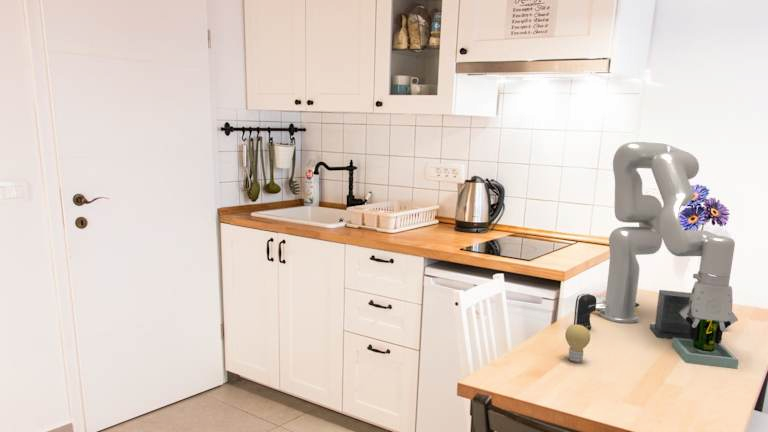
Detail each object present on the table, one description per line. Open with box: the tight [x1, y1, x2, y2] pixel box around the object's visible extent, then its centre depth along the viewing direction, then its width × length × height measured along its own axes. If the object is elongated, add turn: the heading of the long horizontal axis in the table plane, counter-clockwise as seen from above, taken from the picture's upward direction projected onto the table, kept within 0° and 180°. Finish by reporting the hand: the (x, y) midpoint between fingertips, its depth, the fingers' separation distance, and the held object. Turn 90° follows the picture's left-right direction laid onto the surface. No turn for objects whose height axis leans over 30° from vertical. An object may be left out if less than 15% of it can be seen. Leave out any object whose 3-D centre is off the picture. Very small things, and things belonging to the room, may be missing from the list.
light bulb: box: [565, 324, 591, 363], centre depth 151 cm, size 6×6×10 cm
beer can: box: [693, 319, 719, 354], centre depth 158 cm, size 5×5×12 cm
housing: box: [649, 289, 722, 344], centre depth 175 cm, size 18×9×14 cm, turn 78°
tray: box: [671, 338, 739, 369], centre depth 159 cm, size 13×13×3 cm
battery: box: [573, 293, 597, 330], centre depth 176 cm, size 7×4×11 cm, turn 129°
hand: (704, 340), depth 159 cm, fingers closed on beer can, 5 cm apart
